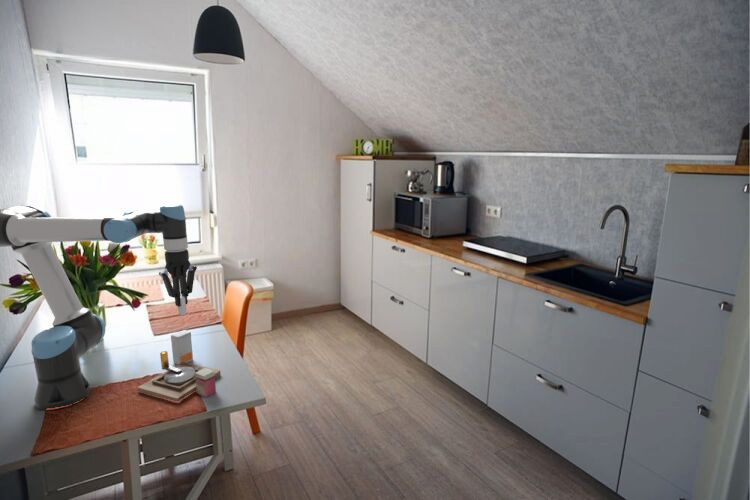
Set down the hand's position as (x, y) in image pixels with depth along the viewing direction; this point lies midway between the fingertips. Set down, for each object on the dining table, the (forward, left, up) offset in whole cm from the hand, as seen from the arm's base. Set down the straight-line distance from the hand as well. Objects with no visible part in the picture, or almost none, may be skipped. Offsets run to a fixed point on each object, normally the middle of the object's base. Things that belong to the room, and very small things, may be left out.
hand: (182, 313), depth 156 cm
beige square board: (-6, -2, -24) cm, 25 cm away
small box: (-7, -15, -24) cm, 29 cm away
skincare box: (+7, +10, -24) cm, 27 cm away
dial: (-6, 0, -22) cm, 23 cm away
